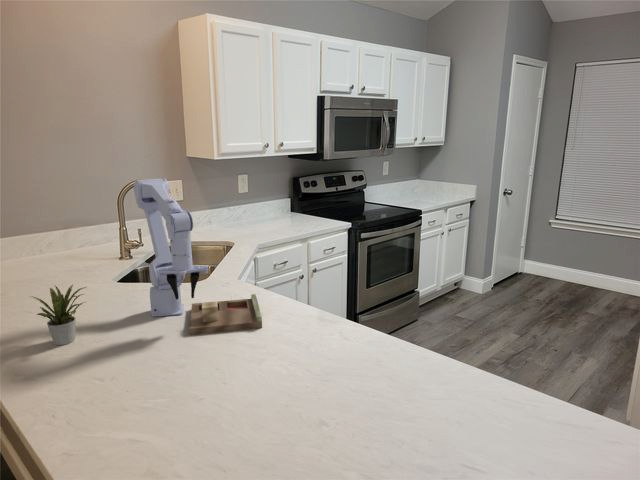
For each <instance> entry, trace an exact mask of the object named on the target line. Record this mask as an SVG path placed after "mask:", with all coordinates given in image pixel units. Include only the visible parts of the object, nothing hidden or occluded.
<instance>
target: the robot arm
mask: <svg viewBox="0 0 640 480" xmlns="http://www.w3.org/2000/svg"><path fill="white" fill-rule="evenodd" d="M169 192H170V184H169V182H168V180H167V179H166V177H161V178H149V179H135V180H134V182H133V193H134V198H135V201H136V204H137V207H138V208H140V209H142V210H143V212H144V214H145V218H146V222H147V227H148V230H149V235H150V239H151V242H152V247H153V251H154V255H155V258H154V259H153V260H152V261H151V262H150V263H149V266H148V271H149V281H150V284H151V285H152V286H150V287H149V303H150V311H151V313H150V314H151V315H150V316H151V317H152V318H153V317H155V318H157V317H164V316H166V317H167V316H176V315H178V316H179V315H183V312H184V304H183V303H182V295H181V294H182V293H181V286H182V283H183V282H184V281H185V278H186V275H190V276H189V277H190V278H189V279H190V287H191V288H190V289H191V290H190V291H191V294H190V295H191V299H195V291H196V287H197V284H198V281H199V278H200V274H209V265H193V264H194V263H193V251H192V242H191V241H192V239H191V237H192V235H191V232H192V231H193V228H194V221H193V216H192V214H191V213H190V211H189V210H187V211H186V210H183V208H182V207H181V206H180V204H179V203H178V202H177V201H176V200H175V199H174V198H171V197H170V195H169V194H170V193H169ZM163 220H165V225H164V221H163ZM165 227H166V229H165ZM166 231H167V232H166ZM168 239H169V241H170V242H169V241H168ZM169 243H170V245H169Z"/></svg>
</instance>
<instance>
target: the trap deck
mask: <svg viewBox="0 0 640 480" xmlns="http://www.w3.org/2000/svg"><path fill="white" fill-rule="evenodd" d="M250 297H251V298H245V299H231V300H220V301H217V306H218V321H210V322H203V317H202V303H203V302H196V303H195V302H194V303H192V304H191V311H190V318H189V327H188V328H189V336H193V335H194V336H195V335H201V334H202V335H203V334H212V333H215V334H216V333H222V332H223V333H224V332H234V331H243V330H251V329H252V330H253V329H255V330H256V329H263V319H262V318H263V316H262V313H261V309H260V306H259V302H258V298H257V294H255V293H253V294H250Z"/></svg>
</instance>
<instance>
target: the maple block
mask: <svg viewBox="0 0 640 480" xmlns="http://www.w3.org/2000/svg"><path fill="white" fill-rule="evenodd" d="M217 302H218V301H207V302H201V303H202V317H203V322H210V321H218V306H217Z"/></svg>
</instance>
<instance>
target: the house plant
mask: <svg viewBox="0 0 640 480" xmlns="http://www.w3.org/2000/svg"><path fill="white" fill-rule="evenodd" d="M54 287H55V289H54V288H51V287H50V288H49V292H50V296H51V304H52V308H53V309H52V308H51V306H50V305H49V304H48V303H47V302H45V301H44V300H42V299H40V298H38V297H37V296H33V295H31V296H29V297H30V298H33V299H35V300H37V301H39V302H40V303H41V304H43V306H45V307H46V308H47V309H48V310H49V311H48V310H47V309H45V308H44V307H42V306H40V307H39V308H40V309H41V311H42V312H38V313H36V314H35V315H36V316H42V319H44V318H47V319H49V320H47V322H46V325H47V327H48V331H49V333H50V336H51V338H52V342H53V345H56V346H64V345H69V344H71V343H73V342H75V340H76V327H77V325H76V324H77V323H76V322H77V321H76V320H77V318H76V317H75V314H76V312H77V309H78V308H79V307H80V306H82V305H83V304H84V303H85V304H86V301H83V302H82V301H81V303H74V302H75V301H76V300H77V299H78V298H79V297H80V296H82V295H84V293H81V294H79V295H76V294H77V293H79V292H80V291H81V290H83V289H86V288H87V286H84V287H81V288H78V289H77V290H76V291H74V292H73V293H72V295H71V292H72V290H73V287H74V284H71V285H70V286H69V287H68V289H67V291H66V293H65V294H62V292H61V290H60V289H59V288H58V286H56V285H54ZM55 290H56V291H55ZM56 292H57V293H56ZM69 297H70V298H69ZM73 298H74V299H73ZM72 299H73V300H72ZM71 301H72V303H71V304H70V302H71ZM69 305H70V306H69ZM68 307H69V308H68ZM74 307H75V308H74ZM73 308H74V309H73ZM72 309H73V310H72ZM73 315H74V316H73Z"/></svg>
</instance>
